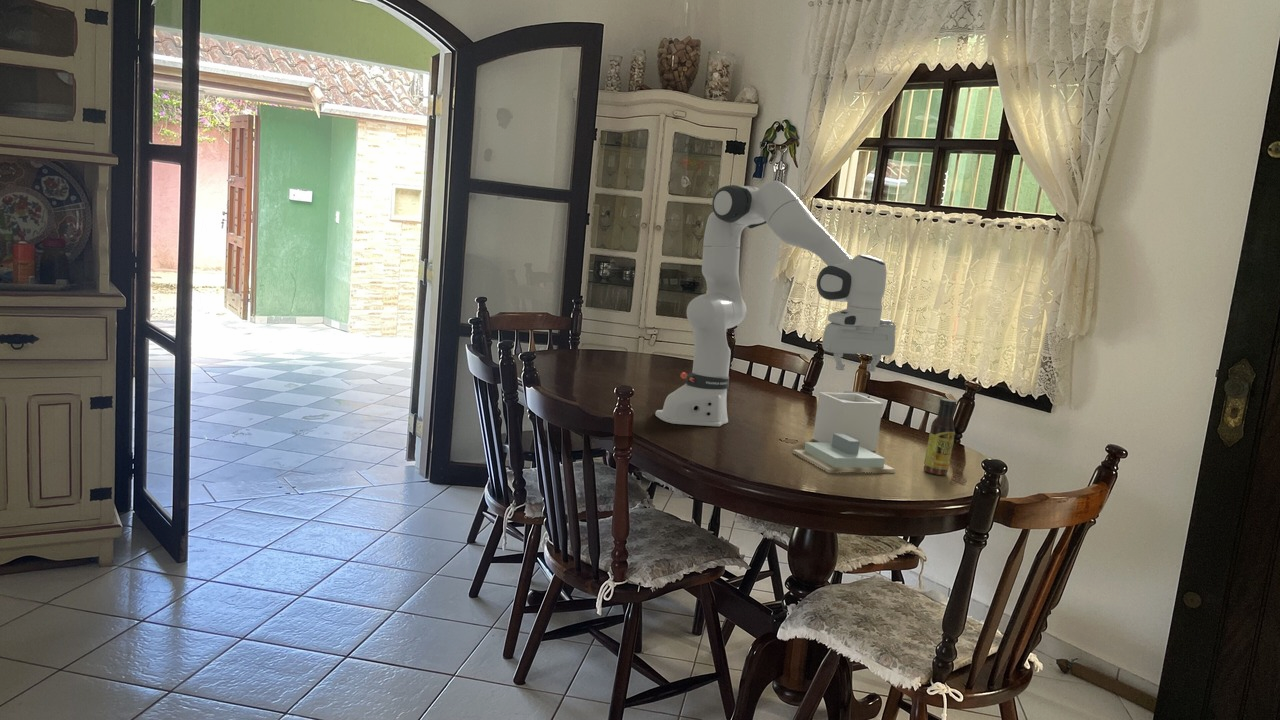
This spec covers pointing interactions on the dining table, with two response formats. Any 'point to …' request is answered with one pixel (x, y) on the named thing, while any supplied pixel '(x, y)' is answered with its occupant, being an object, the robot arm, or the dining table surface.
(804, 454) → the board
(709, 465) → the dining table surface
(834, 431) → the box
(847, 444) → the lid
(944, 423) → the sauce bottle
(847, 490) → the dining table surface
